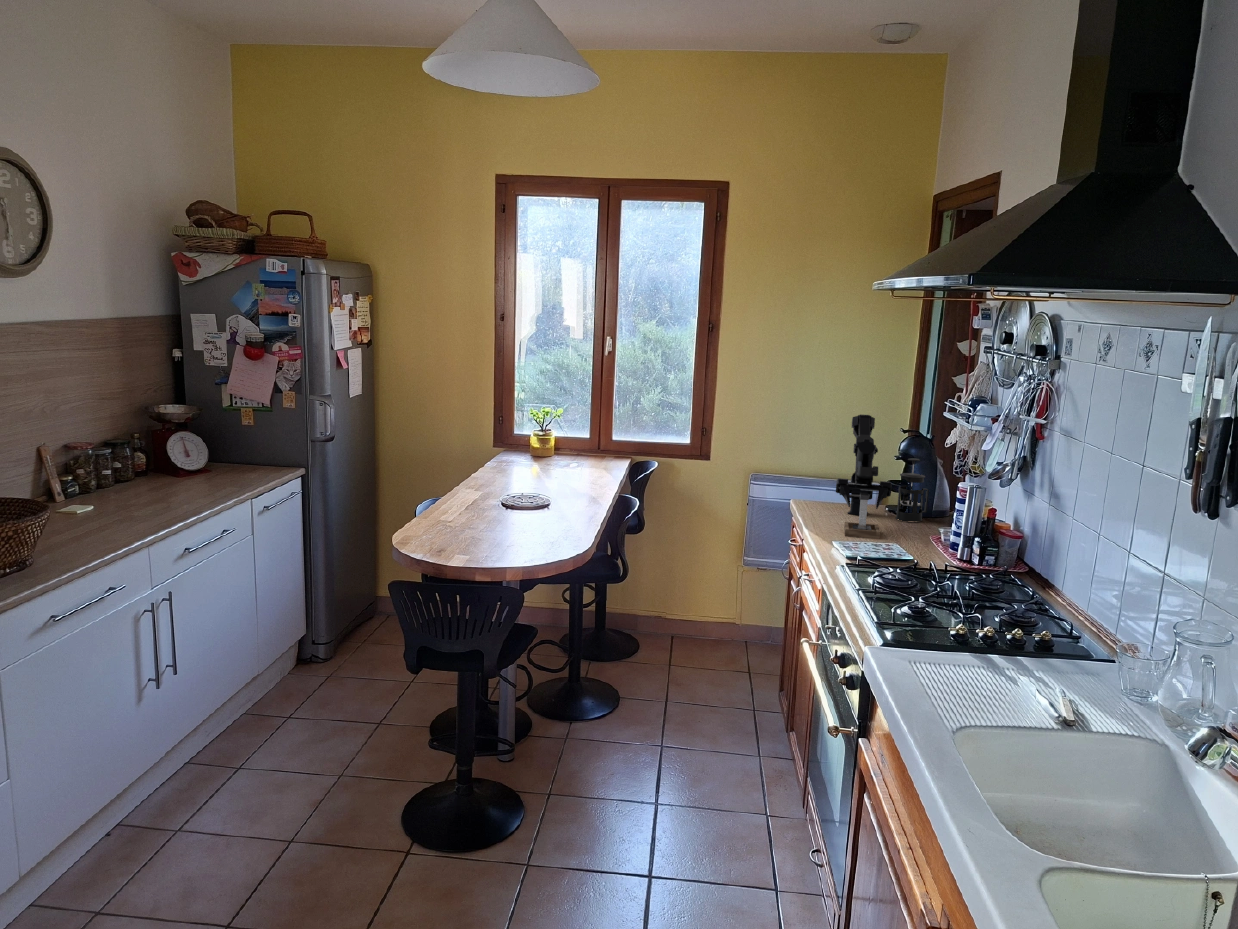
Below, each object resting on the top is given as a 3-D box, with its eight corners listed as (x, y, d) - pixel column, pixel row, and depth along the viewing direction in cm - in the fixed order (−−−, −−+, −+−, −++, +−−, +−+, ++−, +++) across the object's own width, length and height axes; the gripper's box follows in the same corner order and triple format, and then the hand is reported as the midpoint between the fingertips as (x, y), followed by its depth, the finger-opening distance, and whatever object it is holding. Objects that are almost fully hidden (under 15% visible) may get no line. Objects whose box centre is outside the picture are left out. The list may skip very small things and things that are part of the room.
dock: (844, 528, 306) (844, 521, 305) (877, 531, 303) (878, 524, 303) (844, 536, 295) (845, 529, 294) (879, 538, 292) (880, 531, 292)
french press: (899, 522, 319) (905, 460, 315) (889, 516, 328) (894, 456, 324) (930, 522, 320) (936, 461, 316) (920, 517, 329) (925, 457, 325)
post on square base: (852, 532, 297) (855, 495, 295) (852, 528, 303) (855, 492, 300) (871, 534, 295) (874, 496, 293) (870, 530, 301) (873, 493, 299)
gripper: (838, 455, 305) (836, 492, 296) (893, 459, 301) (893, 496, 292) (836, 474, 314) (834, 510, 305) (890, 477, 310) (890, 514, 301)
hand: (863, 507), depth 301 cm, fingers open, 9 cm apart
